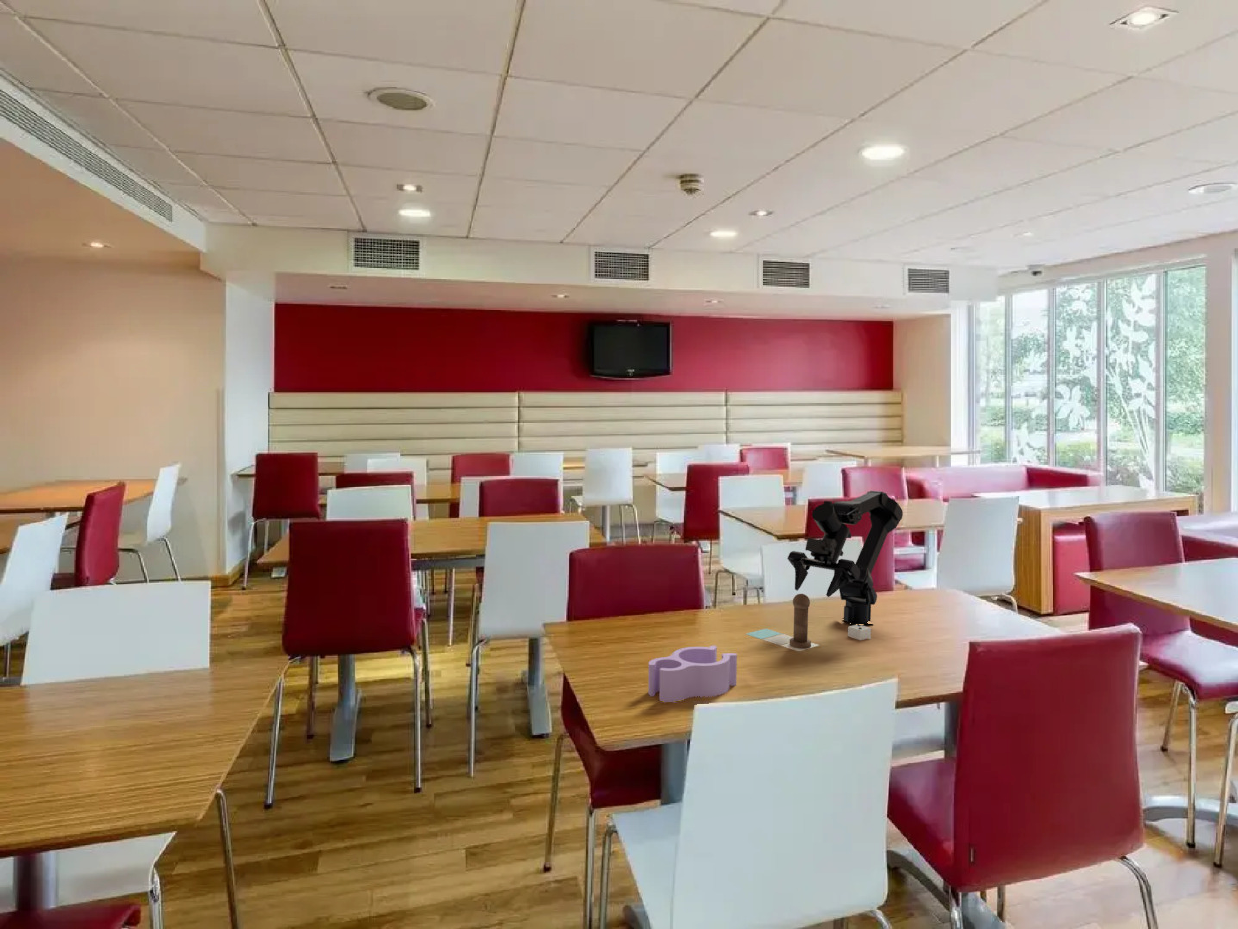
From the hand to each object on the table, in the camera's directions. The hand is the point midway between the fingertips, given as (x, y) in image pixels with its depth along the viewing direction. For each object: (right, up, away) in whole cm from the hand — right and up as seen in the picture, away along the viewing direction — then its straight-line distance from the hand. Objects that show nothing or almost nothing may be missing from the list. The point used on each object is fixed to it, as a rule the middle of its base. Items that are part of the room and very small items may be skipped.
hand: (811, 592), depth 192 cm
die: (+13, -13, +1) cm, 18 cm away
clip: (-34, -16, -32) cm, 49 cm away
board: (-8, -13, -1) cm, 15 cm away
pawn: (-4, -12, -6) cm, 14 cm away
